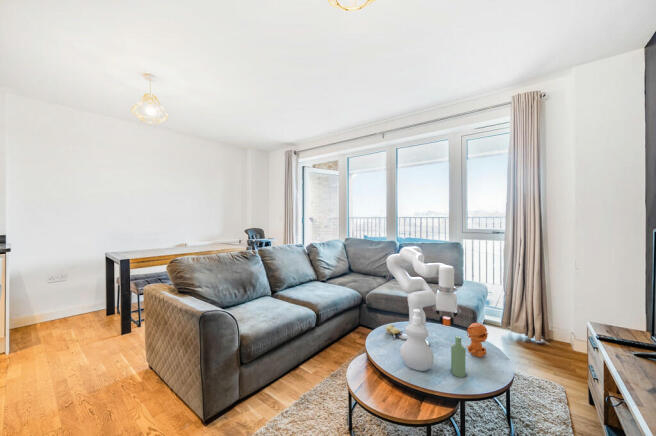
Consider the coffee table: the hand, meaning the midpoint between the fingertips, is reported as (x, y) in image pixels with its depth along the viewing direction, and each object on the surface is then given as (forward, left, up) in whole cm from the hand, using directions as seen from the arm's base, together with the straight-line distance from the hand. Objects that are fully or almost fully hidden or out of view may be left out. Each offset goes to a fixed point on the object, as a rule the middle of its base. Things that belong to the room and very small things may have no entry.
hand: (446, 323), depth 141 cm
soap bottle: (-14, -10, -21) cm, 27 cm away
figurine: (-30, +22, -22) cm, 43 cm away
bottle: (+5, -8, -21) cm, 23 cm away
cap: (0, 0, 0) cm, 0 cm away
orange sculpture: (+16, +16, -21) cm, 31 cm away
